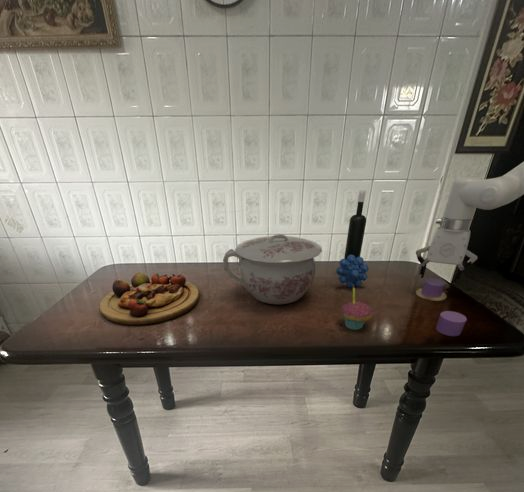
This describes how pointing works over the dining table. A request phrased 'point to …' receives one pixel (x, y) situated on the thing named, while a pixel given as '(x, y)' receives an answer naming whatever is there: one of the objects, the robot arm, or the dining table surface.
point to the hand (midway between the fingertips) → (438, 278)
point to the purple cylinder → (433, 287)
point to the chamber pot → (275, 267)
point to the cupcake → (356, 313)
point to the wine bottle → (356, 229)
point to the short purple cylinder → (451, 323)
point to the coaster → (430, 297)
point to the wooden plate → (148, 299)
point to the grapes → (352, 271)
